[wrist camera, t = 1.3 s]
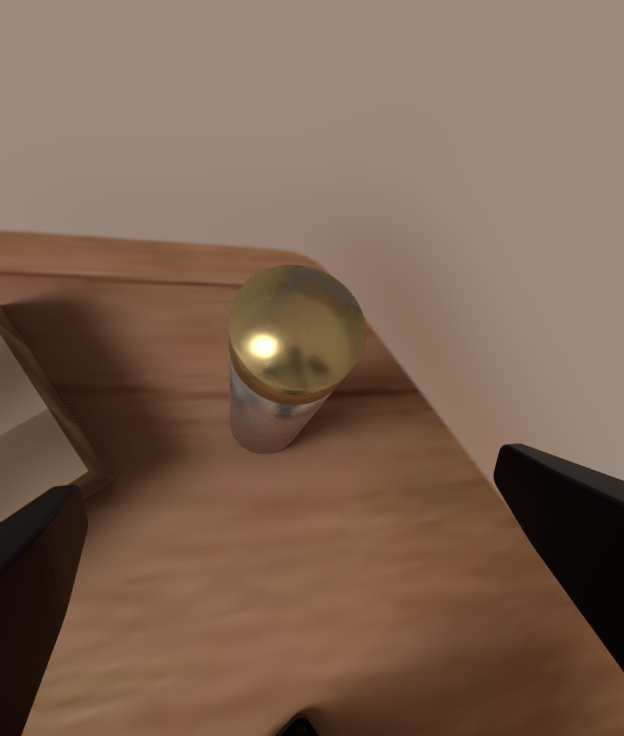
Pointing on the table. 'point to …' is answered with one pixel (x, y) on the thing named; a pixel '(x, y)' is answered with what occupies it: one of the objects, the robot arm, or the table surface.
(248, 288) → the steel pin
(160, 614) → the table surface
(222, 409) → the table surface
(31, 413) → the block
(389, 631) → the table surface
